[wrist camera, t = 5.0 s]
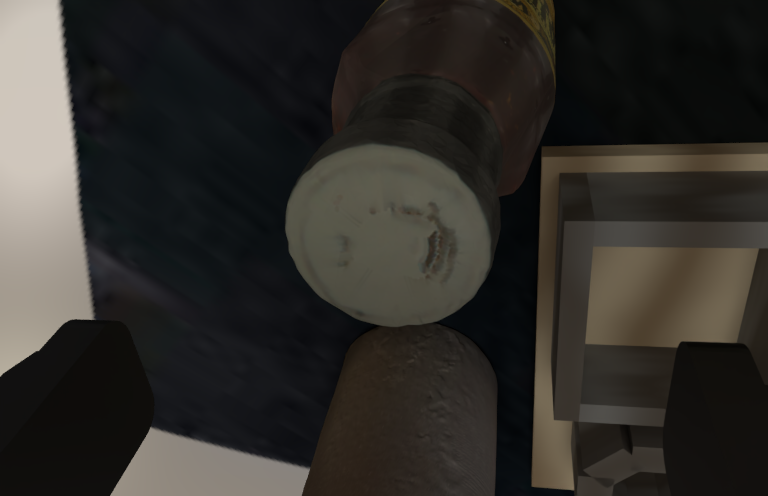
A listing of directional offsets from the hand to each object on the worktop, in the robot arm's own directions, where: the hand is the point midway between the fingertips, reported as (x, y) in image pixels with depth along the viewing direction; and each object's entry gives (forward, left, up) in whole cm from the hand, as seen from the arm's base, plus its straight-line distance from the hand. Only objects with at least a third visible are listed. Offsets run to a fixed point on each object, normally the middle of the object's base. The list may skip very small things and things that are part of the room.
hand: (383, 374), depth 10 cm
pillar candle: (+4, +22, -23) cm, 32 cm away
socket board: (-9, +18, -23) cm, 31 cm away
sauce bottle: (0, 0, -23) cm, 23 cm away
